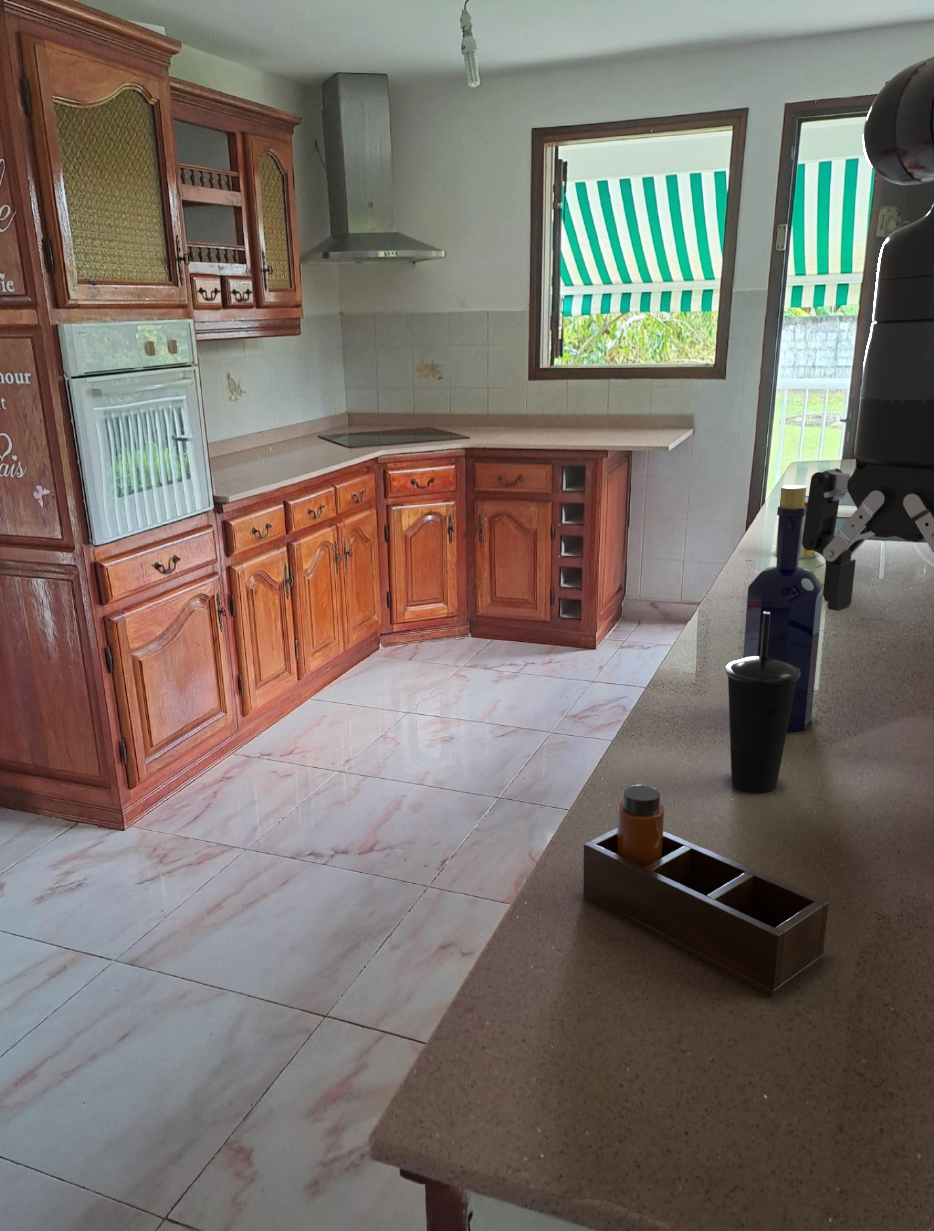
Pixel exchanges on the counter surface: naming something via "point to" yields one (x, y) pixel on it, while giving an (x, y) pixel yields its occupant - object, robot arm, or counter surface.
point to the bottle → (788, 607)
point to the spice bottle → (640, 825)
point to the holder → (712, 909)
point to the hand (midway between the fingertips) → (892, 618)
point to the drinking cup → (759, 716)
